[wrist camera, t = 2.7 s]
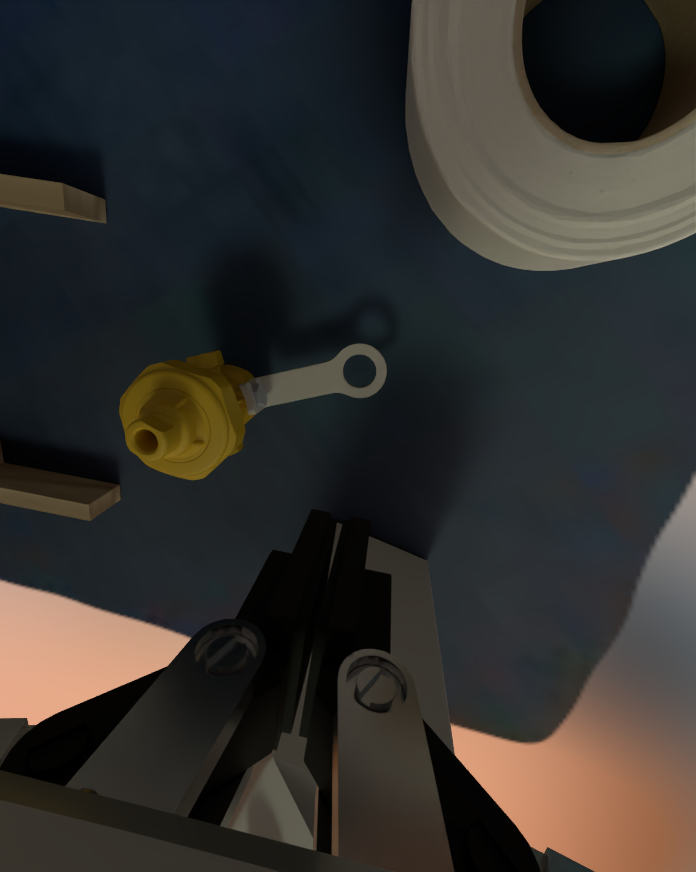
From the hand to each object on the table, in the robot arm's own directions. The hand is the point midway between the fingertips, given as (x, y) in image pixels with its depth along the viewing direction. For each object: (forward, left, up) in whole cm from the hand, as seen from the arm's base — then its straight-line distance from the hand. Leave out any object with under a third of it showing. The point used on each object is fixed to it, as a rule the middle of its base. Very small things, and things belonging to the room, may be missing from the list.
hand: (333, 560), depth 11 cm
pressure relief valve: (-2, -5, -15) cm, 15 cm away
